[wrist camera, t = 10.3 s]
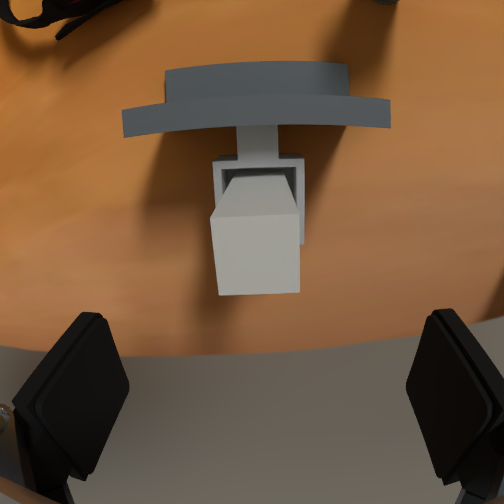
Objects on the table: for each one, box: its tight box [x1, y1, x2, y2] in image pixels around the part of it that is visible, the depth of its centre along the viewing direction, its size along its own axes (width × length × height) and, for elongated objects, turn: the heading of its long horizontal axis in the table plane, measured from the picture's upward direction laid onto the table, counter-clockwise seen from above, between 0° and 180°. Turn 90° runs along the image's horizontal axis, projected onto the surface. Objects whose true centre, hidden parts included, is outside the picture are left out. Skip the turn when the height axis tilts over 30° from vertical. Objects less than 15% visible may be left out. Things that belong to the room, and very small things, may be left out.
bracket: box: [122, 61, 391, 245], centre depth 25 cm, size 18×16×12 cm
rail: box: [210, 170, 300, 295], centre depth 21 cm, size 4×4×14 cm
